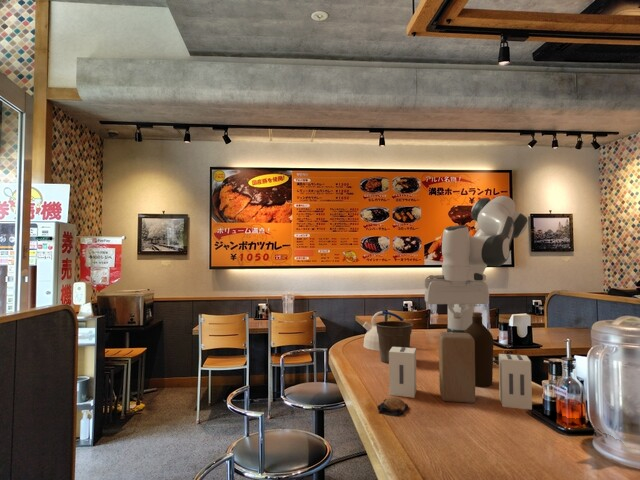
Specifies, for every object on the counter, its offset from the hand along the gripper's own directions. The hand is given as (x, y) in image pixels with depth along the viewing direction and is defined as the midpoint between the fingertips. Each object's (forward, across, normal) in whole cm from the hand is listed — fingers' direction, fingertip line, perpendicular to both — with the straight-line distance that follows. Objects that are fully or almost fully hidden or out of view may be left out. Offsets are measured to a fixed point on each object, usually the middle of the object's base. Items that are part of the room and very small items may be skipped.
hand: (456, 318), depth 132 cm
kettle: (+26, -6, +77) cm, 82 cm away
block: (+26, 0, 0) cm, 26 cm away
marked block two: (+25, +16, -6) cm, 30 cm away
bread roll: (+26, -23, -8) cm, 36 cm away
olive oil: (+26, +14, +15) cm, 33 cm away
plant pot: (+26, -8, +48) cm, 55 cm away
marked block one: (+25, -16, +6) cm, 31 cm away
